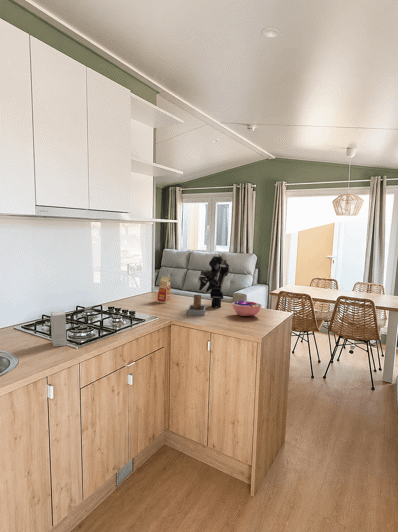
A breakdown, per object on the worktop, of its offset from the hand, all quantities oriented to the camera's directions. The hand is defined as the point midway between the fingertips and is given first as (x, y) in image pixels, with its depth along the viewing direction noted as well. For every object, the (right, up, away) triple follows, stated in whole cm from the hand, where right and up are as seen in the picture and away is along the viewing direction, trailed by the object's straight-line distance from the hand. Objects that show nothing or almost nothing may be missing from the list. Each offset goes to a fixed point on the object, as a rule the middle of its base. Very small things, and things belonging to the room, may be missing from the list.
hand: (202, 291), depth 237 cm
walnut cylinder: (-4, -13, -8) cm, 16 cm away
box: (-4, -14, -8) cm, 17 cm away
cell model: (+29, -16, -12) cm, 35 cm away
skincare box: (-69, -19, -77) cm, 105 cm away
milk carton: (-29, -10, +24) cm, 39 cm away
